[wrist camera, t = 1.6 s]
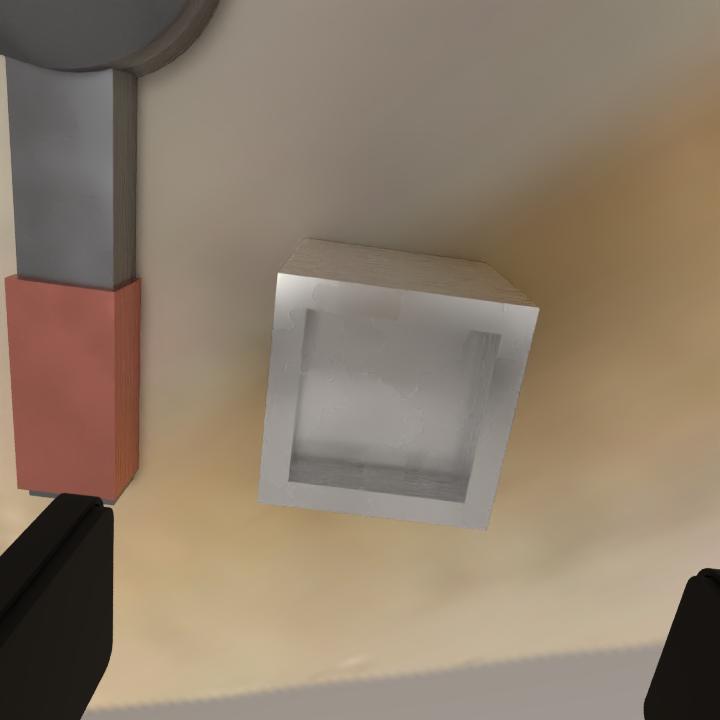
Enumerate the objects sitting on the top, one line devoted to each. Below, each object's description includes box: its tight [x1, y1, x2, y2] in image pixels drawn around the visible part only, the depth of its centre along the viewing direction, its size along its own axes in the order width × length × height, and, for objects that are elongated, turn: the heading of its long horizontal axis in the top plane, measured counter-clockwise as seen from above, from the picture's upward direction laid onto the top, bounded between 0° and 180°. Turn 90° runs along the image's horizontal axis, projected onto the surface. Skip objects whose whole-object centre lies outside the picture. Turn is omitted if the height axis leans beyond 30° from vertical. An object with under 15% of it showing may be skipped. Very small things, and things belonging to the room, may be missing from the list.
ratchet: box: [0, 0, 220, 505], centre depth 17 cm, size 24×9×7 cm, turn 172°
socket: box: [257, 238, 540, 530], centre depth 19 cm, size 7×7×7 cm
